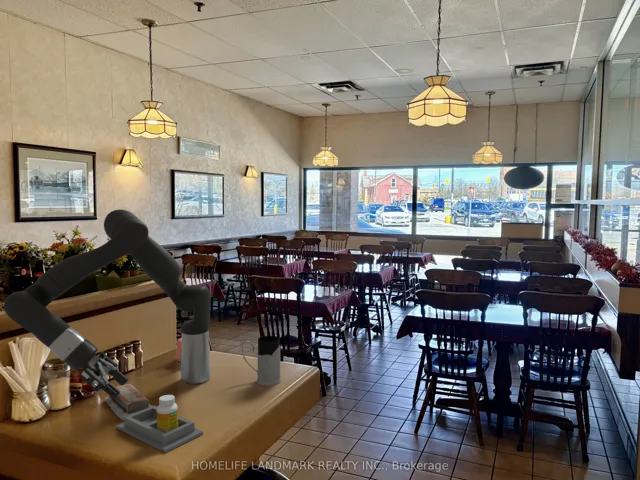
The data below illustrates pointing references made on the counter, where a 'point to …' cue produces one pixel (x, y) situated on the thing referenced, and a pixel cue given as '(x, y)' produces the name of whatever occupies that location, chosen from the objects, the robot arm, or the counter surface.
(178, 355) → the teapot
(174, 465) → the counter surface
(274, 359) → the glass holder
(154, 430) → the divided tray
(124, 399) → the packaged product
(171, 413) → the supplement bottle
